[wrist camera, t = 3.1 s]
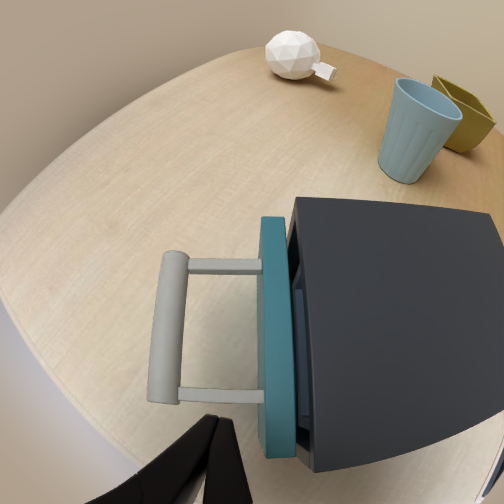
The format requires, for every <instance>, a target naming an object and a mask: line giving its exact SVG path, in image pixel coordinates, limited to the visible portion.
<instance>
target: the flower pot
mask: <svg viewBox="0 0 504 504" xmlns="http://www.w3.org/2000/svg"><path fill="white" fill-rule="evenodd" d="M431 87H432V88H434V89H436V90H438V91H439V92H441V93H442V94H444V95H445V96H446V97H448V98H449V99H450V100H451V101H452V102H453V103H454V104H455V105H456V106H457V107H458V108H459V109H460V111H461V113H462V116H463V117H462V120H461V121H460V123H459V124H458V126H457V127H456V128H455V130H454V131H453V132H452V134H451V135H450V137H449V138H448V140H447V141H446V142H445V144H444V145H443V146H445V147H448V148H450V149H452V150H454V151H456V152H458V153H462V152H466V151H468V150H471V149H472V148H474V147H476V146H477V145H478V144H479V143H480V142H481V141H482V140H483V139H484V138H485V137H486V135H487V134H488V133H489V132H490V130H491V129H492V128H493V127H494V125H495V124H496V121H495V120H494V119H493V117H492V116H491V114H490V113H489V112H488V111H487V109H486V108H485V107H484V105H483V104H482V103H481V101H480V100H479V99H478V98H477V97H476V96H475V95H473V94H472V93H470V92H468V91H466V90H465V89H463V88H461V87H459V86H457V85H455V84H453V83H451V82H450V81H447V80H445V79H443V78H441V77H439V76H437V75H434V77H433V82H432V86H431Z"/></svg>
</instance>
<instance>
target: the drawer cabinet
mask: <svg viewBox="0 0 504 504" xmlns="http://www.w3.org/2000/svg"><path fill="white" fill-rule="evenodd" d="M287 253H288V266H289V280H290V296H291V312H292V330H293V351H294V376H295V411H296V456H297V457H298V458H299V459H300V460H301V461H302V462H303V463H304V464H305V465H306V466H307V467H308V468H309V469H311V470H312V471H313V472H314V473H320V472H327V471H334V470H340V469H345V468H350V467H355V466H360V465H365V464H369V463H373V462H377V461H381V460H385V459H388V458H392V457H395V456H399V455H402V454H405V453H408V452H412V451H415V450H417V449H420V448H423V447H426V446H429V445H431V444H434V443H437V442H439V441H442V440H444V439H446V438H449V437H451V436H453V435H456V434H458V433H460V432H462V431H465V430H467V429H469V428H471V427H473V426H475V425H477V424H479V423H481V422H483V421H485V420H487V419H488V418H490V417H492V416H494V415H496V414H497V413H499V412H501V411H503V410H504V246H503V243H502V241H501V239H500V236H499V234H498V231H497V229H496V227H495V225H494V222H493V220H492V218H491V216H490V214H487V213H481V212H474V211H466V210H459V209H451V208H443V207H434V206H425V205H415V204H405V203H393V202H381V201H368V200H353V199H336V198H315V197H296V198H295V203H294V208H293V213H292V217H291V222H290V227H289V231H288V236H287ZM299 264H300V269H301V280H302V292H303V304H304V317H305V332H306V348H307V367H308V390H309V424H310V430H307V429H305V428H302V427H300V426H299V423H298V384H297V359H296V338H295V320H294V303H293V288H292V284H293V281H294V278H295V275H296V272H297V270H298V267H299Z"/></svg>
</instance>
